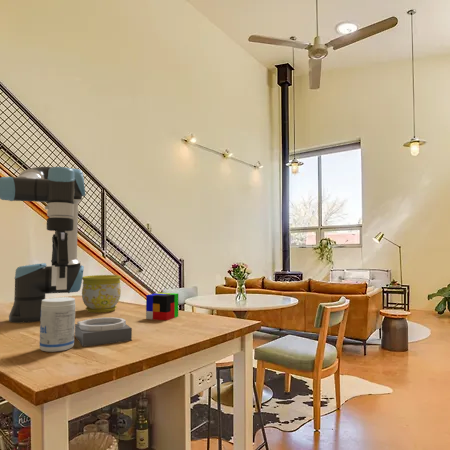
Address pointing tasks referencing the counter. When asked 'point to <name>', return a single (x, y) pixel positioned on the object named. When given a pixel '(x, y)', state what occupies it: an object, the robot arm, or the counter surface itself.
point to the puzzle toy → (162, 306)
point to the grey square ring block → (102, 331)
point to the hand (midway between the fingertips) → (58, 287)
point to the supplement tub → (57, 324)
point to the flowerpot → (101, 292)
